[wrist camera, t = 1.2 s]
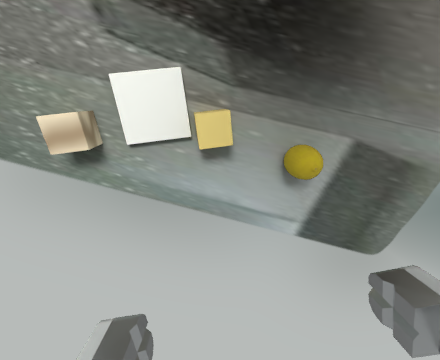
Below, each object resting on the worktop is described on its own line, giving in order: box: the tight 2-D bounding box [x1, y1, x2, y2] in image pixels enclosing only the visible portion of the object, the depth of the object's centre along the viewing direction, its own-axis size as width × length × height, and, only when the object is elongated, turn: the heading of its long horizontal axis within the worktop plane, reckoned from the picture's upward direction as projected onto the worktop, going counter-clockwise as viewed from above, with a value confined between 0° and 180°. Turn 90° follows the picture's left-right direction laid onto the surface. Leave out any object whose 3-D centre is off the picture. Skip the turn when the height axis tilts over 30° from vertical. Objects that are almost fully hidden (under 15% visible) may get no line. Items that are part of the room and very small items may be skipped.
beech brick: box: [36, 111, 103, 155], centre depth 31 cm, size 5×5×5 cm
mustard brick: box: [194, 109, 233, 149], centre depth 33 cm, size 5×5×5 cm
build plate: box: [109, 67, 191, 145], centre depth 33 cm, size 10×10×1 cm
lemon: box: [284, 145, 323, 180], centre depth 35 cm, size 6×6×8 cm
